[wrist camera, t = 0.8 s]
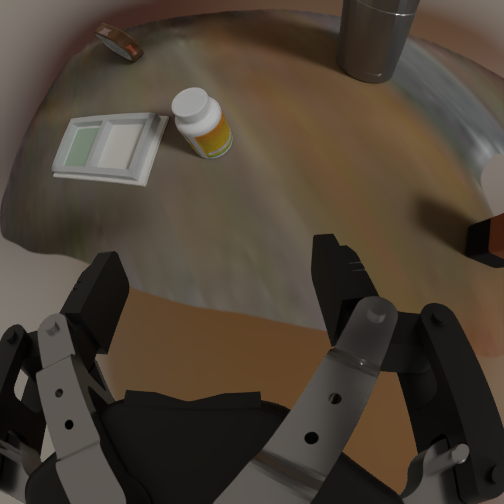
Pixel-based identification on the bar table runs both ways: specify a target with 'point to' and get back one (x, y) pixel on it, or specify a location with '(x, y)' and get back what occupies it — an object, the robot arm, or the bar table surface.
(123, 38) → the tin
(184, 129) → the supplement bottle
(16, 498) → the robot arm
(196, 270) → the bar table surface
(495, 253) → the battery
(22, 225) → the bar table surface
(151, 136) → the compartment tray
